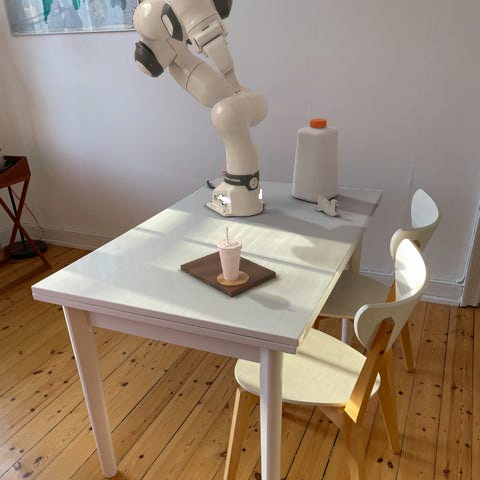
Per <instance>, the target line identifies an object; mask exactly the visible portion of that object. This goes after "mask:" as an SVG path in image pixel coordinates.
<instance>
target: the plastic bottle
mask: <svg viewBox="0 0 480 480" xmlns="http://www.w3.org/2000/svg"><path fill="white" fill-rule="evenodd" d="M296 133H297V134H296V143H295V144H296V145H295V152H294V153H295V155H294V165H293V175H292V184H291V185H292V186H291V195H292V197H293V198H294V199H297V200H302V201H306V202H309V203H310V202H311V203H317V204H318V195H323V196H324V198H325V199H327V200H328V201H329V200H330V199H331V200H332V199H333V198H335V197H337V196H338V194H339V130H338V128H337V127H334V126H329V125H328V121H327V119H325V118H312V119H310V120H309V125H308V126H305V127H302V128H299V129H298V131H297V132H296Z"/></svg>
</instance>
